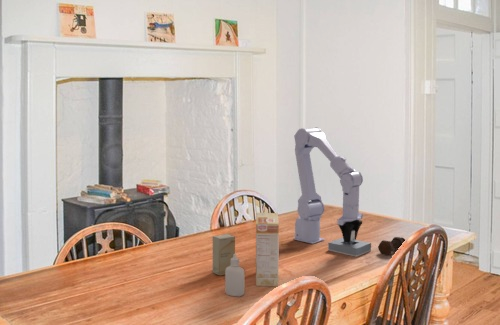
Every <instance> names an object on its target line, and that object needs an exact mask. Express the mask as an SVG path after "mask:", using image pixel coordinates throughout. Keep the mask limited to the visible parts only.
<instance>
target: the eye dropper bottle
mask: <svg viewBox="0 0 500 325" xmlns="http://www.w3.org/2000/svg"><path fill="white" fill-rule="evenodd" d="M224 276H225V277H224V278H225V280H224V283H225V284H224V287H225V294H227V295H228V296H231V297H239V298H240V297H243V296H244V295H245V269H244V268H242V267H241V266H240V258H239V257H237V253H235V254H234V255H233V258H231V266H229V267H227V268H226V270H225V275H224Z"/></svg>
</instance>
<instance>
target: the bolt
mask: <svg viewBox="0 0 500 325" xmlns="http://www.w3.org/2000/svg"><path fill="white" fill-rule="evenodd" d="M405 240H406V239H405V238H404V237H400V236H399V237H398V236H394V237H393V238H392V240H391V241H390V240H385V239H383V240H381V241H380V242H379V244H378V246H377V248H378V251H379V253H380V255H383V256H391V255H392V253H393V252H394V250H399V249H398V248H399V247H400V246H401V245H402V243H403V242H404V241H405Z"/></svg>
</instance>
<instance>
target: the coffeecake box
mask: <svg viewBox="0 0 500 325" xmlns="http://www.w3.org/2000/svg"><path fill="white" fill-rule="evenodd" d="M255 216H256V217H255V218H256V220H255V286H256V287H279V278H280V277H279V276H280V275H279V273H280V272H279V266H280V264H279V261H280V260H279V258H280V257H279V256H280V255H279V254H280V253H279V252H280V251H279V250H280V249H279V248H280V247H279V246H280V245H279V244H280V241H279V240H280V239H279V236H280V234H279V231H280V230H279V225H280V224H279V222H280V221H279V214H278V213H277V212H256V215H255Z"/></svg>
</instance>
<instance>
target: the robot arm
mask: <svg viewBox="0 0 500 325" xmlns="http://www.w3.org/2000/svg"><path fill="white" fill-rule="evenodd" d="M294 143H295V145H294V146H295V147H294V153H295V159H296V165H297V171H298V178H299V186H300V190H301V195H300V197H299V198H298V199H297V214H298V217H297V218H296V220H295V223H294V238H293V240H295V241H299V242H303V243H308V244H313V245H314V244H315V243H319V242H323V241H324V240H325V238H323V237H321V218H322V215H323V214H324V213H325V205H324V203H323V200H322V197H321V195H320V194H318V193H317V191H316V183H315V178H314V173H313V167H312V161H311V160H312V159H311V154H310V153H311V152H312V150H313V149H315V148H317V149H318V150H319V151H320V152H321V153H322V154H323V156H325V157H326V158H327V159H328V161H330V163H329V165H330V168H331V169H332V170H333V171H334V173H335V175H337V176H338V177H339V183H340V186H341V187H342V190H341V191H342V215H341V216H340V217H339V218H338V219H337V221H336V222H337V224H336V225H338V227H339V228H340V231H341V234H342V237H343V239H344V242H348V243H349V242H350V239H351V232H352V229H353V230H355V240H357V237H358V233H359V230H360V228H361V226H362V224H363V221H362V220H363V218H364V213H361V212H360V211H359V209H360V204H359V203H360V186H362V184H363V183H364V182H363V181H364V180H363V179H364V178H363V175H362V173H361V172H360V171H359V170H355V168H353V167H352V166H351V165H350V163H349V162H347V158H346V157H344V156H341V155H338V154H337V153H336V151H335V150H334V149H333V147H332V145H331V144H330V143H329V140H327V138H326V133H324V132H323V130H322V129H321V128H320V127H308V128H304V127H303V128H299V129H298V130H297V131H296V132H295V134H294Z"/></svg>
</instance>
